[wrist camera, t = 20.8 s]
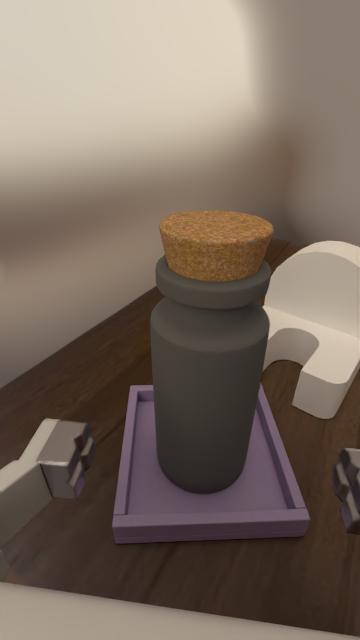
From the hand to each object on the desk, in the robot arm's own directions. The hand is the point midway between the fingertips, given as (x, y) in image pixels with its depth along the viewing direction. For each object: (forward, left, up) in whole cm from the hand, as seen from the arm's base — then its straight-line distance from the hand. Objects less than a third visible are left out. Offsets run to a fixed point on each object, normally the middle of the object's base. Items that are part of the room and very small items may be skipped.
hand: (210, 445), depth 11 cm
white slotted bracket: (+19, -13, -10) cm, 25 cm away
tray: (+7, -1, -10) cm, 12 cm away
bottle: (+7, -1, -10) cm, 12 cm away
